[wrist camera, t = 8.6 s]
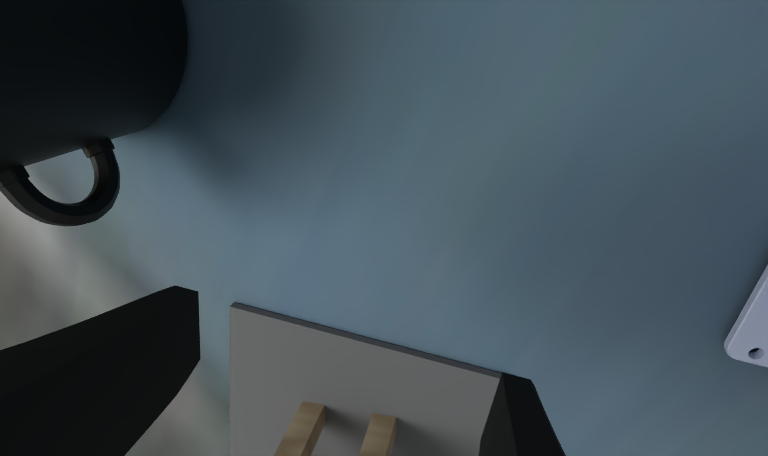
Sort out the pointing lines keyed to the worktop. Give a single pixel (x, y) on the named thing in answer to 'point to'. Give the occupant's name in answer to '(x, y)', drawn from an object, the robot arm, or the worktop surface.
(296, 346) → the mat
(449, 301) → the worktop surface
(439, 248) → the worktop surface
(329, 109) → the worktop surface
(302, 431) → the stool
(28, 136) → the mug
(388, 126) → the worktop surface
